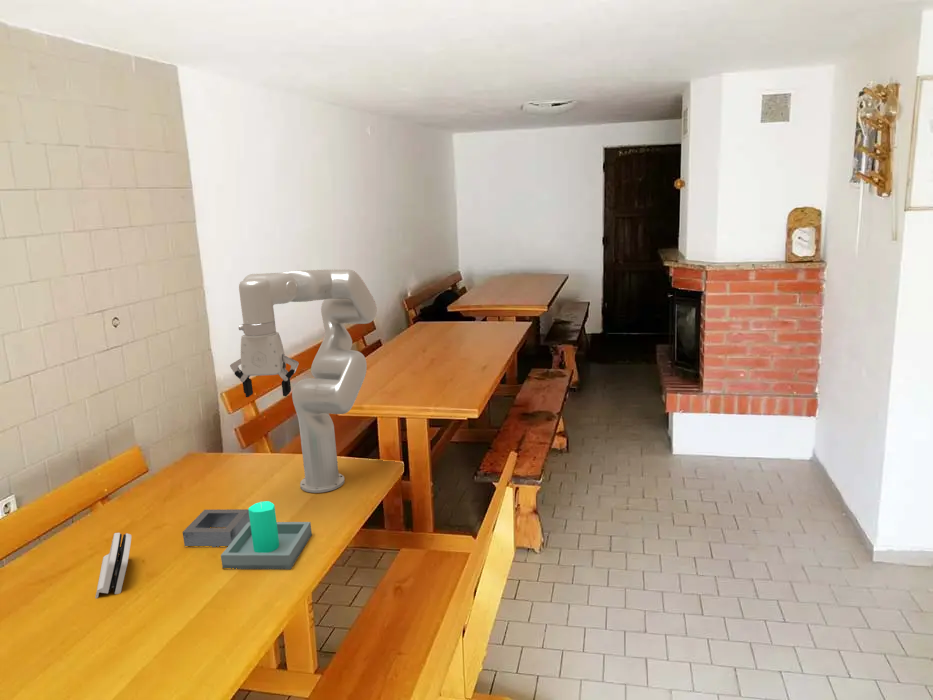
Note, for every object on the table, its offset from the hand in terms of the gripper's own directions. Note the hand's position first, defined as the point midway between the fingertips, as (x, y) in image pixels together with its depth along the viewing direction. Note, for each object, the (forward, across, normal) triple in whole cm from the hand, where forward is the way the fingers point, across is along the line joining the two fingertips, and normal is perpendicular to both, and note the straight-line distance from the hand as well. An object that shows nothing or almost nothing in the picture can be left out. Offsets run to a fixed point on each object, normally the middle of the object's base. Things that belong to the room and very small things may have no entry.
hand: (268, 395), depth 180 cm
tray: (+33, +3, -18) cm, 38 cm away
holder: (+33, -13, -10) cm, 37 cm away
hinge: (+34, -29, -29) cm, 53 cm away
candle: (+32, +2, -18) cm, 37 cm away
